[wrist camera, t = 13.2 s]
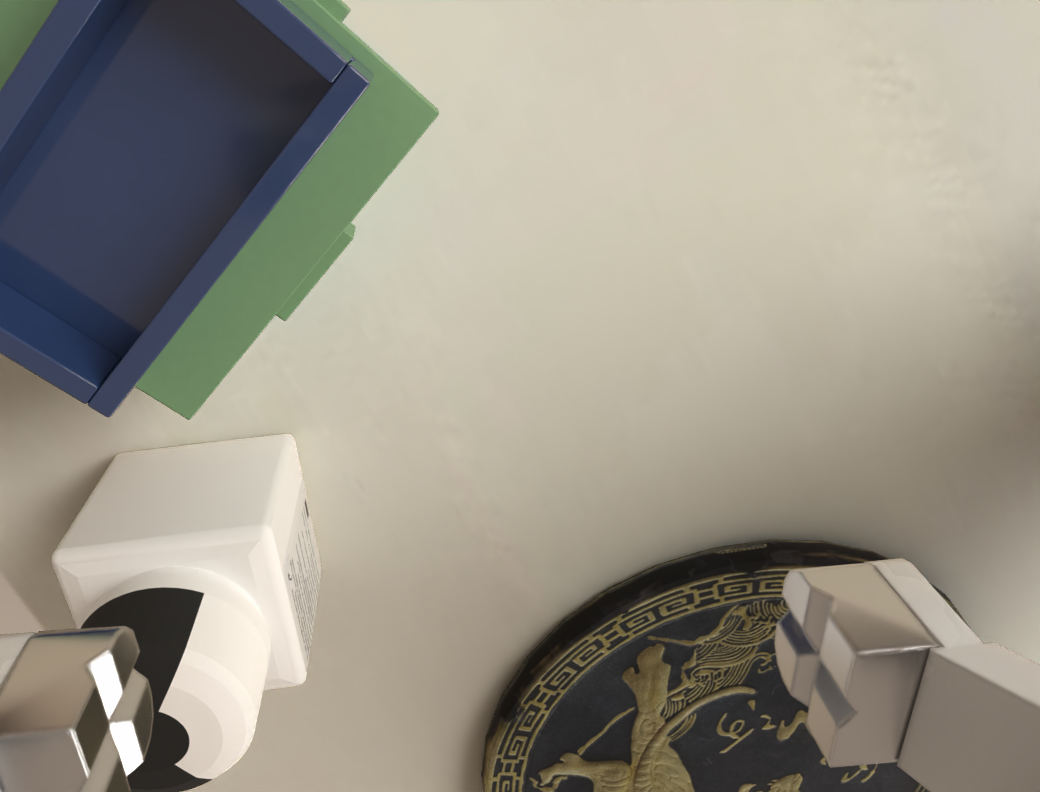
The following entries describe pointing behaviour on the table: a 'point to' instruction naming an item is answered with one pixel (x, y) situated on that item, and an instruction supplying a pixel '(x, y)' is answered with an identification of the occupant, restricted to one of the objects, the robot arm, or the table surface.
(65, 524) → the table surface
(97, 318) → the low blue storage tray
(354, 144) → the box
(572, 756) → the decorative plate
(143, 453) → the container
